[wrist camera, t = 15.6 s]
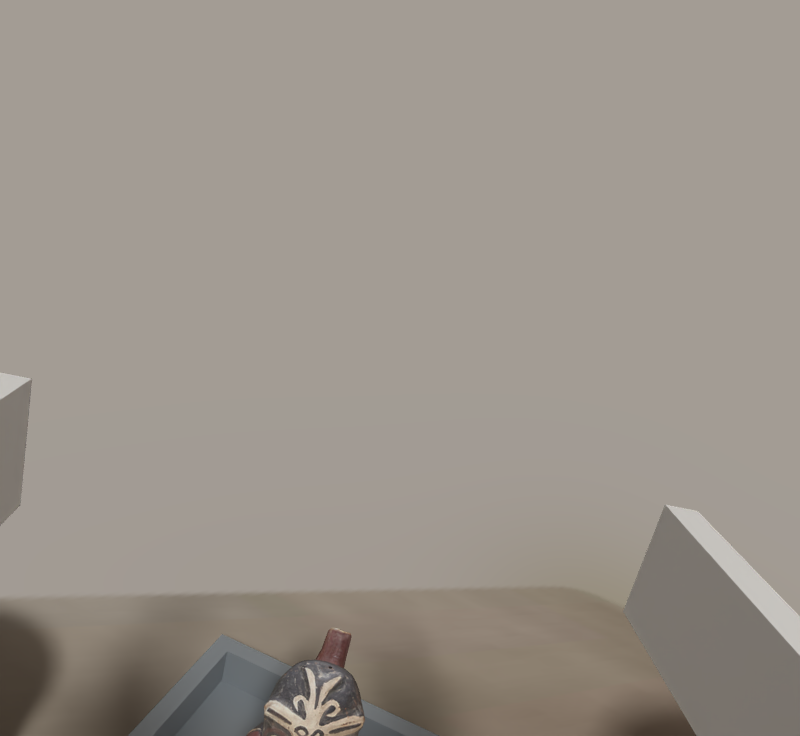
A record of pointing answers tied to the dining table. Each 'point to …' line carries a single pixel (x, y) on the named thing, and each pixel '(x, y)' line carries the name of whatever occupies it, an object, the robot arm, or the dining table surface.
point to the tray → (239, 698)
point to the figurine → (316, 696)
